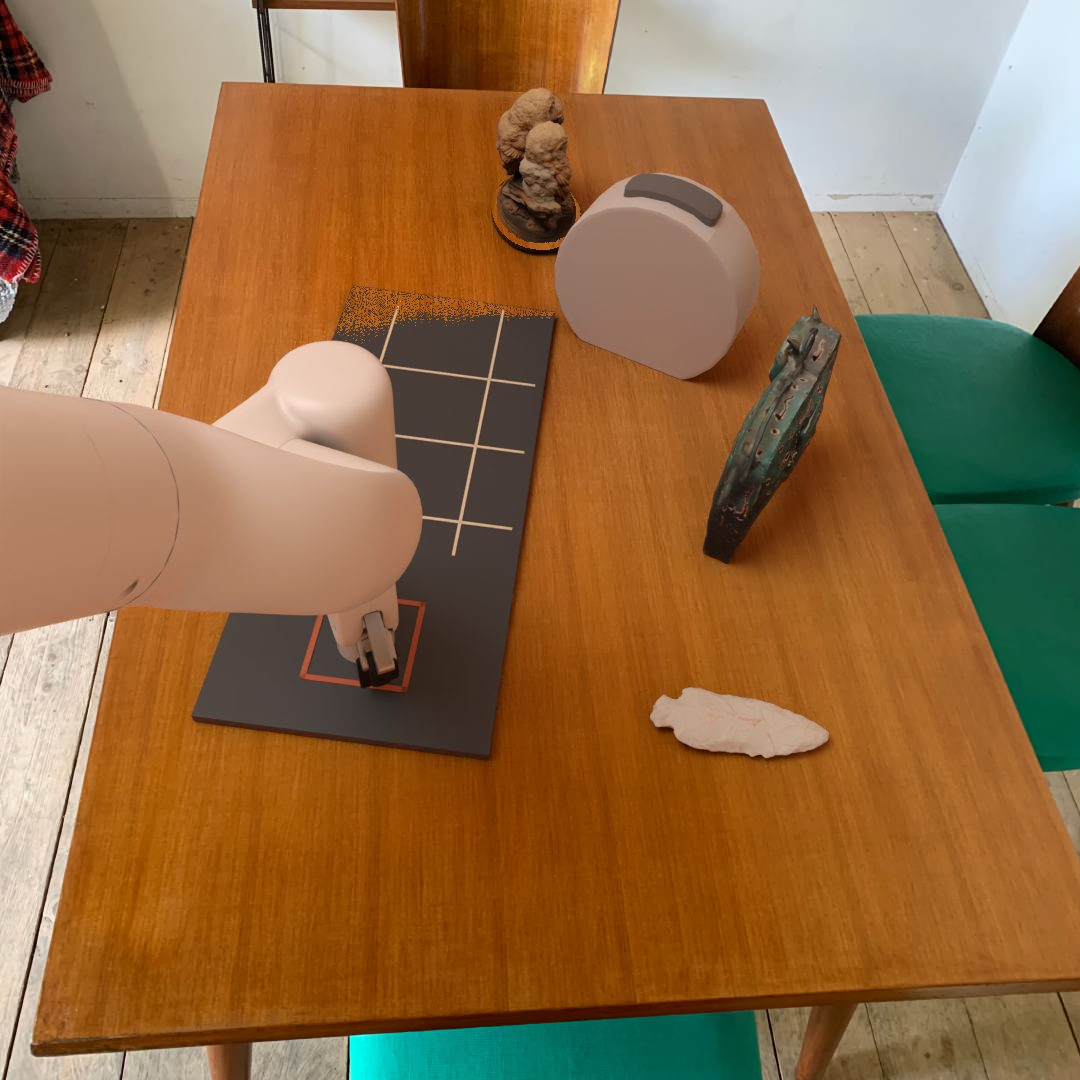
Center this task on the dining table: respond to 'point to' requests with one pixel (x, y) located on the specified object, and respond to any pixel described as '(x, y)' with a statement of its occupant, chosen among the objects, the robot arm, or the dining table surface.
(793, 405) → the ceramic cat
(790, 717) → the stone tool
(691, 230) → the alarm clock
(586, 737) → the dining table surface
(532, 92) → the owl figurine
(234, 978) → the dining table surface
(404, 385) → the board
